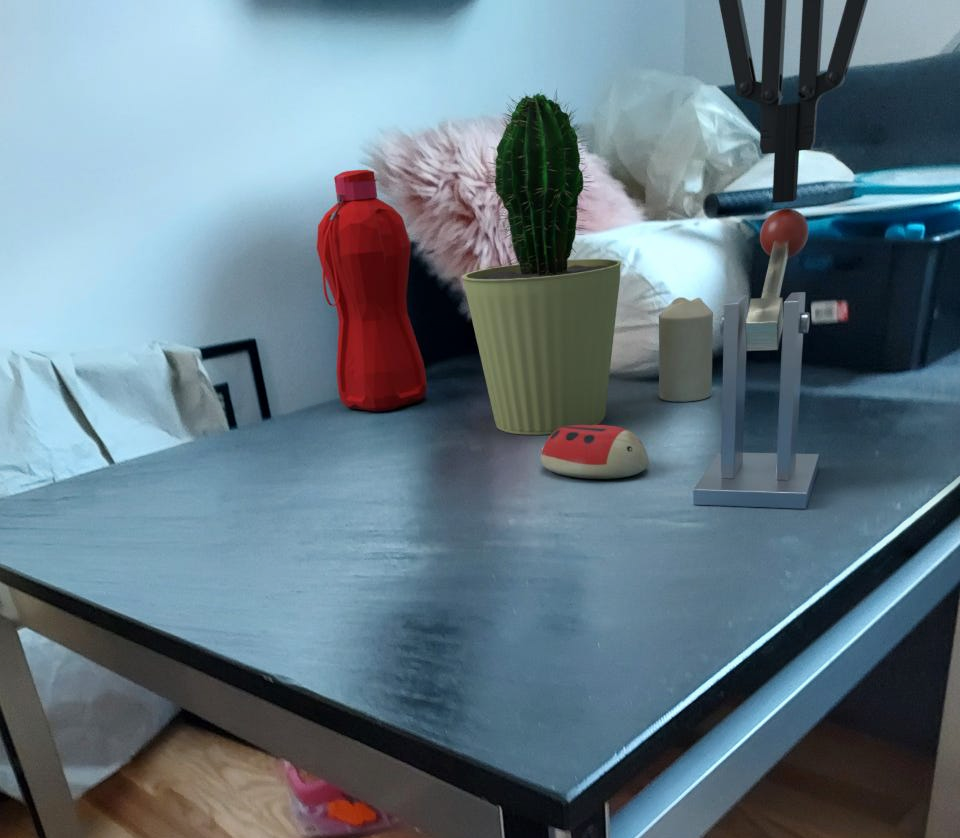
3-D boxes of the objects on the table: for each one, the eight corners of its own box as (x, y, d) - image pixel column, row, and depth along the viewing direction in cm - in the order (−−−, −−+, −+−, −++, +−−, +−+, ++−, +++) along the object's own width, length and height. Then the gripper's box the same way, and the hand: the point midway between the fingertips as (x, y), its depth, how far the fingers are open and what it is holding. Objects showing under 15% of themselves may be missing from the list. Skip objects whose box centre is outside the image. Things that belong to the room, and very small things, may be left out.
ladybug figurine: (630, 486, 76) (630, 443, 74) (522, 477, 81) (520, 436, 79) (662, 463, 81) (662, 421, 79) (558, 455, 86) (556, 416, 84)
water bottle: (318, 412, 112) (280, 177, 101) (387, 392, 119) (357, 170, 108) (370, 419, 106) (335, 171, 95) (439, 398, 113) (414, 164, 102)
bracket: (716, 466, 79) (720, 290, 73) (818, 468, 76) (830, 285, 70) (693, 504, 71) (694, 310, 65) (805, 509, 68) (818, 306, 62)
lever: (763, 243, 77) (762, 201, 74) (810, 239, 75) (811, 197, 73) (736, 358, 69) (734, 316, 67) (788, 357, 68) (787, 314, 65)
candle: (651, 395, 104) (649, 299, 100) (696, 388, 105) (697, 293, 101) (673, 404, 100) (672, 304, 95) (720, 397, 101) (723, 297, 96)
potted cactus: (465, 414, 104) (435, 101, 91) (601, 397, 106) (591, 87, 93) (488, 448, 90) (457, 86, 77) (644, 428, 92) (640, 69, 79)
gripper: (912, -201, 63) (878, 191, 73) (713, -157, 68) (707, 204, 78) (911, -236, 57) (874, 197, 67) (693, -186, 62) (689, 210, 72)
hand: (784, 200), depth 73 cm, fingers closed
